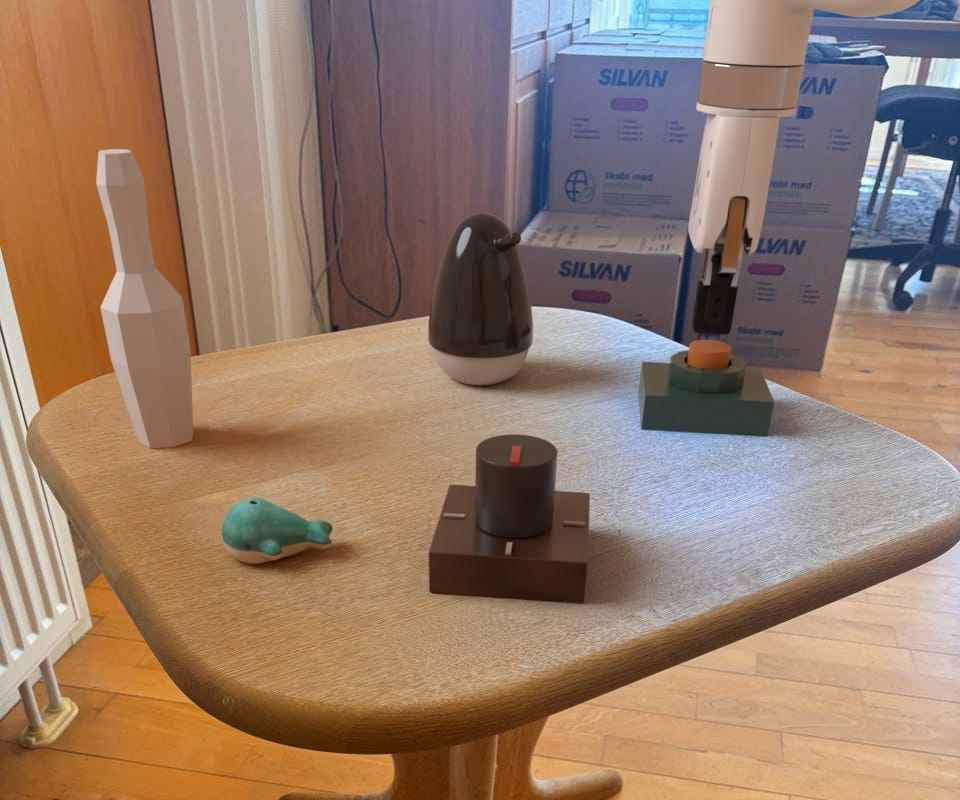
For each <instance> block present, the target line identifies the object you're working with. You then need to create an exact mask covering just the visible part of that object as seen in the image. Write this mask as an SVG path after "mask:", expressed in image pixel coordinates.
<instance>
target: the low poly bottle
mask: <svg viewBox="0 0 960 800" xmlns="http://www.w3.org/2000/svg"><path fill="white" fill-rule="evenodd" d="M95 179H96V180H95V181H96V182H95V184H96V188H97V190H98V195H99V198H100V201H101V202H100V203H101V206H102V209H103V213H104V216H105V220H106V223H107V227H108V233H109V238H110V243H111V249H112V252H113V258H114V263H115V269H116V273H115V274H114V276H113V279H112V281H111V283H110V285H109V287H108V289H107V292H106V294H105V296H104V299H103V300H102V303H101V305H100V307H99V308H100V312H101V317H102V322H103V328H104V332H105V337H106V341H107V347H108V352H109V357H110V361H111V365H112V367H113V370H114V373H115V376H116V379H117V382H118V386H119V389H120V391H121V394H122V397H123V401H124V403H125V406H126V410H127V412H128V415H129V417H130V418H129V419H130V421H131V424H132V427H133V430H134V434H135V436H136V439H137V442H138V443H139V444H141V445H143V446H145V447H147V448H149V449H162V448H174V447H177V446H180V445H181V446H182V445H185V444H186V443H190V442H192V441H193V438H194V437H193V436H194V414H193V413H194V407H193V384H192V383H193V381H192V354H191V353H192V351H191V344H190V337H189V331H188V325H187V319H186V312H185V305H184V298H183V296H181V294H180V293H179V292H178V290H176V289H175V287H174V286H173V285H172V284H171V283H170V282H169V281H168V280H167V278H165V276H164V275H163V274H162V273H161V272H160V271H159V270H158V268H157V267H156V264H155V259H154V253H153V247H152V246H153V245H152V241H151V240H152V239H151V235H150V229H149V222H148V209H147V198H146V197H147V196H146V186H145V185H146V184H145V183H146V182H145V179H144V177H143V174H142V172H141V169H140V167H139V165H138V162H137V160H136V158H135V156H134V153H133V151H132V150H131V149H125V148H110V149H101V150H99V151H98V153H97V167H96V178H95Z"/></svg>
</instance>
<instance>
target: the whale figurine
mask: <svg viewBox="0 0 960 800" xmlns="http://www.w3.org/2000/svg"><path fill="white" fill-rule="evenodd" d="M332 532H333V526H332V524H331V523H330V522H328V521H326V520H321V519H316V520H312V521H310V520H307V519H305V518H304V517H302V516H300V515H298V514H296V513H294V512H292V511H291V510H288V509H286V508H284V507H281V506H279V505H277V504H274V503H272V502H271V501H269V500H266V499H263V498H259V497H249V498H245V499H242V500H240V501H238V502H237V503H235V504H233V505H232V507H230V508H229V510H227V513H226V514H225V516H224V518H223V521H222V525H221V536H222V543H223V546H224V548H225V550H226V552H227V553H228V555H230V556H231V557H232V558H234V559H235V560H237V561H239V562H242V563H246V564H254V565H255V564H264V563H268V562H271V561H272V562H273V561H277V560H280V559H283V558H287V557H289V556H293V555H296V554H298V553H301V552H303V551H305V550H307V549H310V548H314V549H318V550H322V549H327V548H329V547H330V546H331V545H332V540H331V537H330V535H331V534H332Z"/></svg>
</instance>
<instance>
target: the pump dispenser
mask: <svg viewBox="0 0 960 800" xmlns="http://www.w3.org/2000/svg"><path fill="white" fill-rule="evenodd" d="M521 242H522V236H521V234H520V233H519V232H518V231H513V232H511V230H510V228H509V227H508V225H507V223H505V221H503V220H502V219H501V218H500V217H499V216H496V215H495V214H492V213H489V212H476V213H472V214H470V215H468V216H465V217H464V218H463V219H462V220H460V221H459V223H458V224H457V225H456V227H455V228H454V230H453V232H452V233H451V235H450V237H449V239H448V241H447V243H446V246H445V248H444V251H443V254H442V256H441V261H440V264H439V267H438V271H437V275H436V278H435V281H434V286H433V292H432V297H431V302H430V310H429V317H428V327H427V340H428V344H429V346H431V349H432V352H433V357H434V359H435V361H436V363H437V365H438V366H439V367H440V369H441V370H442V372H443V373H445V375H447V376H448V377H450V378H451V379H453V380H454V381H457V382H459V383H462V384H465V385H470V386H491V385H496V384H501V383H502V382H505V381H507V380H509V379H511V378H512V377H513V376H514V375H516V374H517V373H518V372H519V371H520V369H521V368H522V366H523V365H524V363H525V362H526V359H527V356H528V354H529V350H530V348H531V347H532V346H533V344H534V320H533V319H534V318H533V309H532V300H531V295H530V289H529V288H530V287H529V284H528V279H527V274H526V271H525V267H524V263H523V260H522V259H523V258H522V256H521V253H520V250H519V247H518V245H519V244H521Z"/></svg>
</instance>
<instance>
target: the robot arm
mask: <svg viewBox="0 0 960 800" xmlns="http://www.w3.org/2000/svg"><path fill="white" fill-rule="evenodd" d="M920 1H921V0H709V8H708V17H707V24H706V31H705V32H706V33H705V40H704V47H703V55H702V62H701V67H700V75H699V76H700V77H699V84H698V90H697V91H698V92H697V100H696V101H697V102H696V106H695V110H696V111H697V112H700V113H703V114H707V115H706V117H707V118H706V120H705V125H704V130H703V135H702V141H701V146H700V151H699V158H698V164H697V169H696V177H695V182H694V190H693V195H692V200H691V201H692V202H691V207H690V212H689V219H688V225H687V231H688V235H689V239H690V242H691V245H692V247H693V249H694V250H695V252H697V253H698V254H702V262H701V268H700V269H701V270H700V280H698V281H697V287H696V293H695V300H694V305H693V306H694V307H693V313H692V321H691V326H692V330H693V332H694V333H695V334H707V335H708V334H709V335H724V336H725V335H726V336H727V335H729V334H730V333H731V331H732V324H733V319H734V313H735V307H736V303H737V302H736V301H737V295H738V290H739V287H738V283H739V279H740V278H739V277H740V273H741V267H742V262H743V257H744V254H745V255H746V256H750V255H752V254H753V253H755V251H756V250H757V249H758V245H759V241H760V237H761V233H762V227H763V222H764V218H765V212H766V208H767V207H766V206H767V201H768V196H769V189H770V184H771V179H772V171H773V167H774V165H773V164H774V158H775V154H776V153H775V151H776V150H777V145H776V144H777V138H778V132H779V125H780V118H788V117H789V118H790V117H794V116H795V115H796V110H797V105H798V100H799V94H800V90H801V89H800V88H801V82H802V77H803V73H804V72H803V71H804V67H805V66H804V64H805V61H806V55H807V50H808V44H809V38H810V33H811V28H812V22H813V17H814V12H815V10H818V11H823V12H827V13H833V14H837V15H841V16H846V17H852V18H860V19H861V18H865V19H866V18H875V17H880V16H885V15H886V16H887V15H892V14H896V13H899V12H902V11H904V10H907V9H909V8H911V7H913V6H915V5H916V4H917V3H918V2H920Z"/></svg>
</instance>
